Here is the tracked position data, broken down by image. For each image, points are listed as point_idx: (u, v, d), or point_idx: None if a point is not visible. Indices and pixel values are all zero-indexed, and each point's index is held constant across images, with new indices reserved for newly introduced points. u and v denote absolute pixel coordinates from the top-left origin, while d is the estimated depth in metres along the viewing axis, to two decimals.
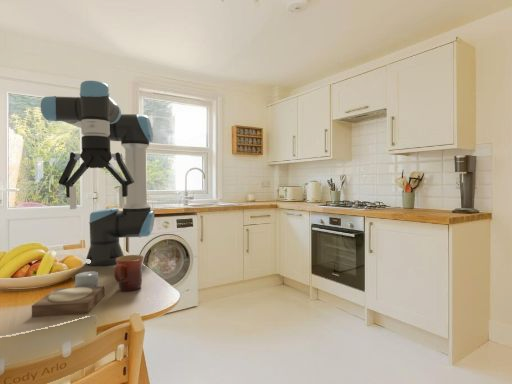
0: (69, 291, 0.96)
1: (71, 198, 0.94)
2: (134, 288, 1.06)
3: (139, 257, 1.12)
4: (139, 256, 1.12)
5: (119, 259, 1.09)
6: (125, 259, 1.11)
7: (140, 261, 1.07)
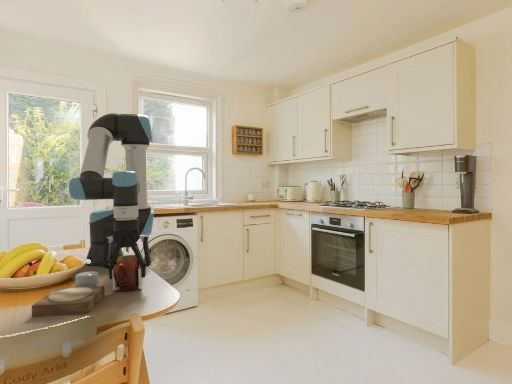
0: (69, 291, 0.96)
1: (114, 280, 1.05)
2: (133, 288, 1.06)
3: None
4: None
5: (118, 259, 1.09)
6: (124, 259, 1.11)
7: None
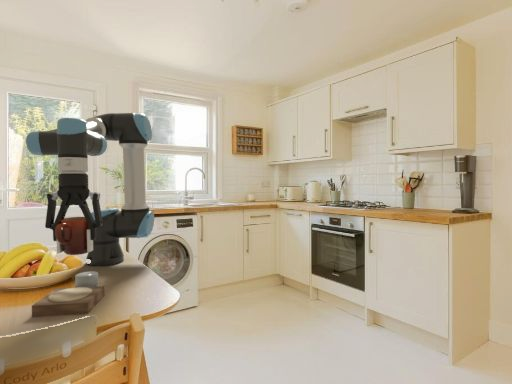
0: (69, 291, 0.96)
1: (58, 242, 0.93)
2: (80, 252, 0.94)
3: None
4: None
5: (65, 220, 0.97)
6: None
7: None
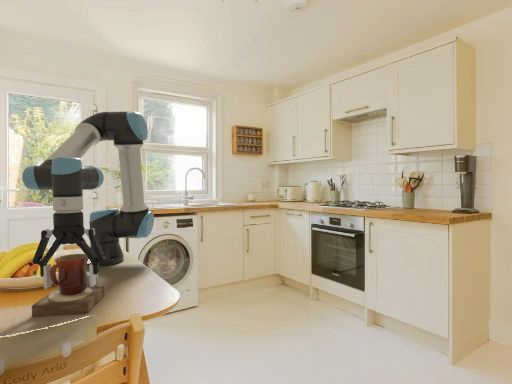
0: None
1: (45, 278, 0.92)
2: (76, 291, 0.93)
3: (85, 256, 0.99)
4: (85, 255, 0.99)
5: (60, 258, 0.96)
6: (68, 258, 0.98)
7: (83, 261, 0.94)
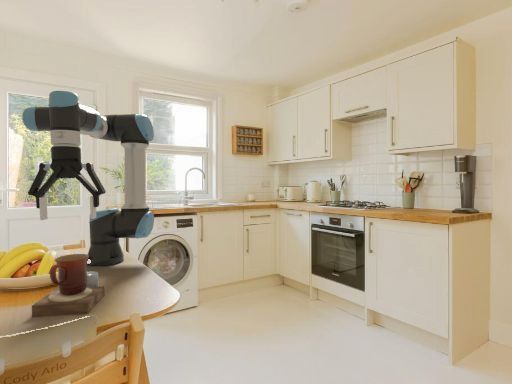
0: None
1: (41, 209, 0.93)
2: (76, 291, 0.93)
3: (85, 256, 0.99)
4: (85, 255, 0.99)
5: (60, 259, 0.96)
6: (68, 259, 0.98)
7: (83, 261, 0.94)
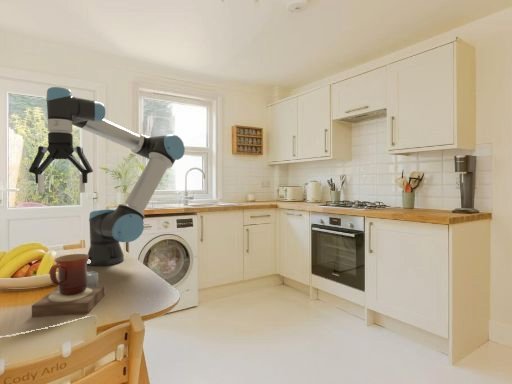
0: None
1: (39, 184, 1.14)
2: (76, 291, 0.93)
3: (84, 256, 0.99)
4: (85, 255, 0.99)
5: (60, 259, 0.96)
6: (68, 259, 0.98)
7: (83, 261, 0.94)
